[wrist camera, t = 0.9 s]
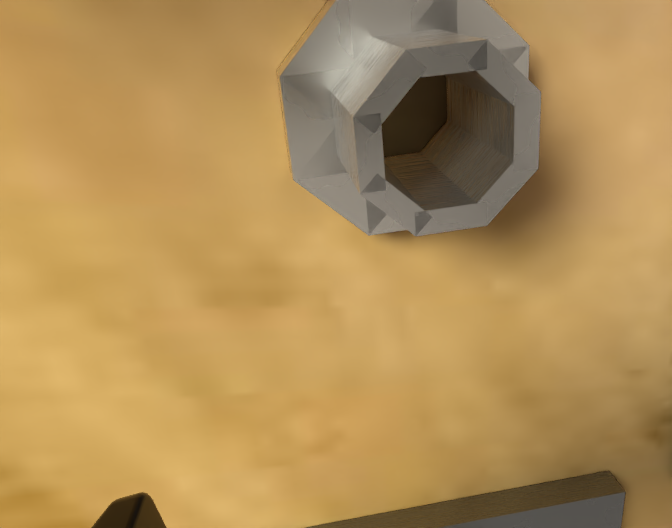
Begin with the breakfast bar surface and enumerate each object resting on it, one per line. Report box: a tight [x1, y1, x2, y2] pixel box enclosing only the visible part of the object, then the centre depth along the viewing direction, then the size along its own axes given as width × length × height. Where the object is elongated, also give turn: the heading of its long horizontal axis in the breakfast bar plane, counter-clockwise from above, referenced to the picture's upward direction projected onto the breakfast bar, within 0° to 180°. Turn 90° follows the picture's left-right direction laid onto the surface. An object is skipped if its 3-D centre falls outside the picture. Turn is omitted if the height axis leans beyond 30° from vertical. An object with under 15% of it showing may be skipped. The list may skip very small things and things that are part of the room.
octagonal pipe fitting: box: [277, 0, 541, 236], centre depth 16 cm, size 7×7×5 cm
